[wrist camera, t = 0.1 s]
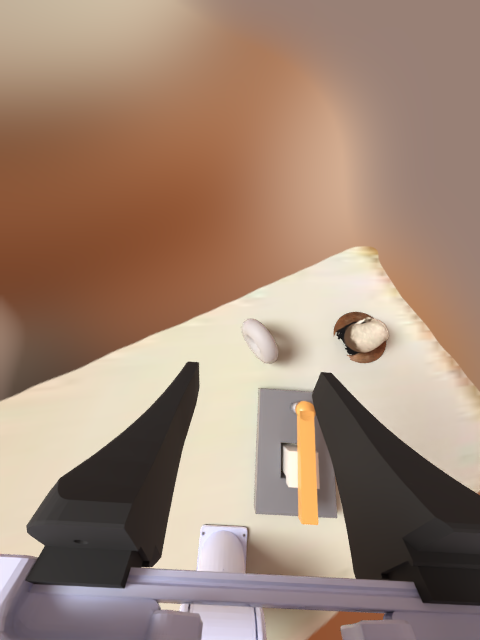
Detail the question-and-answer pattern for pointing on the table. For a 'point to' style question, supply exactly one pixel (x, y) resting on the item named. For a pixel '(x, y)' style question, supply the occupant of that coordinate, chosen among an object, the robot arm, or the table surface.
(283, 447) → the plug
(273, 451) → the socket block
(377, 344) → the skull
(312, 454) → the orange paddle handle
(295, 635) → the table surface
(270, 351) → the donut
